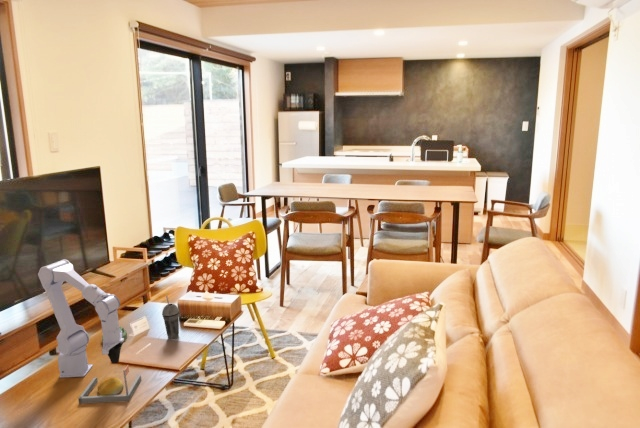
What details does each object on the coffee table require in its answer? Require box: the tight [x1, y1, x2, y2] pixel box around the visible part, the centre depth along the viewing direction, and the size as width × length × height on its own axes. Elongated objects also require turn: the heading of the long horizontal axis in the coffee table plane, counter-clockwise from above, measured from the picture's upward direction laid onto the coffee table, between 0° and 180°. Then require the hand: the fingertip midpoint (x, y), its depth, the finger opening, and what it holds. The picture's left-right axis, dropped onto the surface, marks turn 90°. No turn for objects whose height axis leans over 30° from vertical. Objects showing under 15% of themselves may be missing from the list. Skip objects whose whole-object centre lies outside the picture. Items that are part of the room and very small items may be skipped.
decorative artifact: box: [101, 326, 128, 343], centre depth 208 cm, size 10×7×10 cm
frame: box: [78, 364, 142, 405], centre depth 169 cm, size 17×13×12 cm
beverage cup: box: [161, 295, 180, 341], centre depth 207 cm, size 7×7×20 cm
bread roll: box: [97, 376, 124, 396], centre depth 170 cm, size 8×9×4 cm
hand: (115, 362), depth 175 cm, fingers closed
